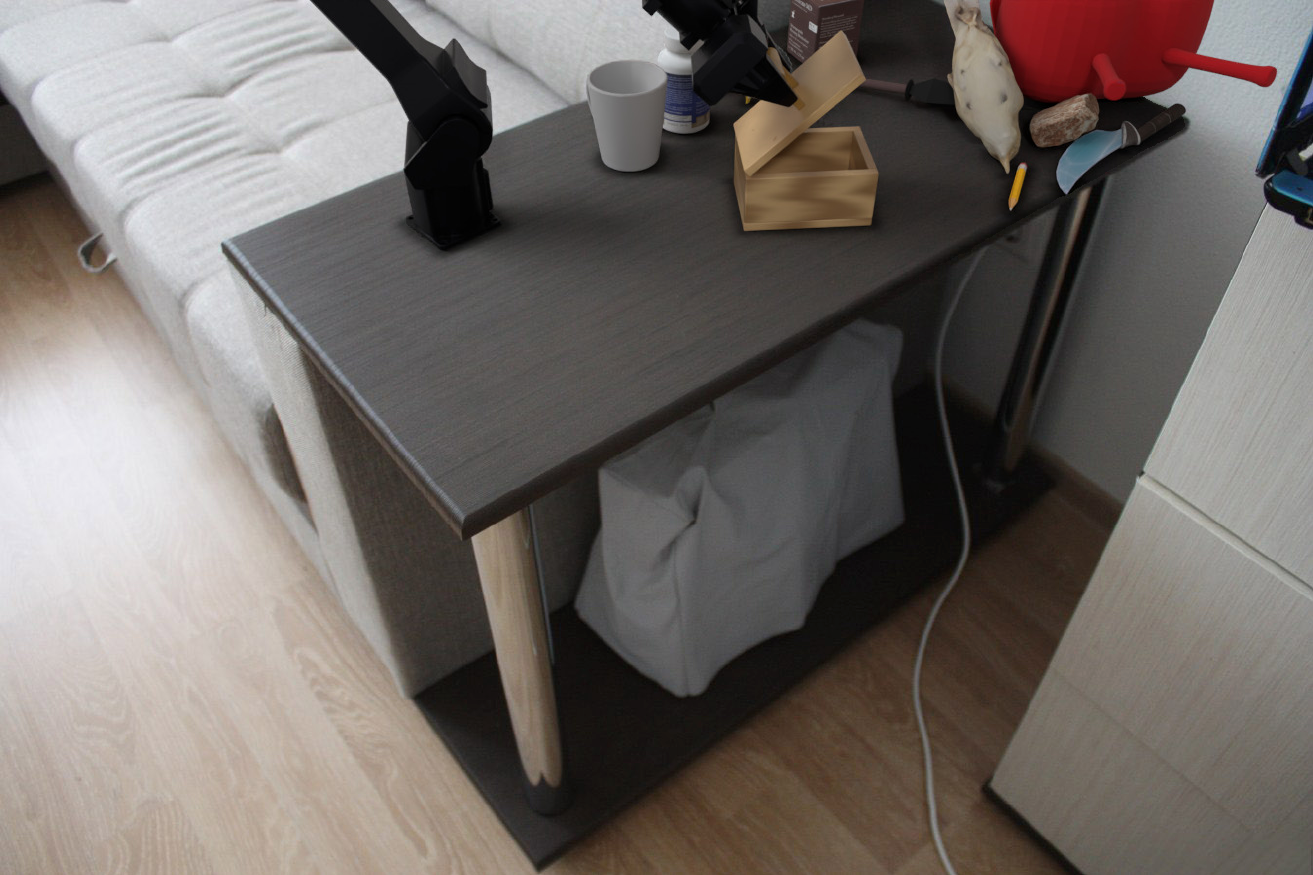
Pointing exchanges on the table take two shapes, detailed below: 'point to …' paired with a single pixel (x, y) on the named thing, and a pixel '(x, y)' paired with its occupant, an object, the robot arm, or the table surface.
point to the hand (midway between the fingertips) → (790, 88)
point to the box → (822, 24)
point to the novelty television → (1108, 47)
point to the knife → (1107, 145)
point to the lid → (798, 102)
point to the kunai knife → (922, 91)
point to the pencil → (1017, 185)
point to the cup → (628, 112)
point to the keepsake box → (810, 183)
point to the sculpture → (984, 82)
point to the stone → (1065, 121)
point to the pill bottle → (681, 87)
